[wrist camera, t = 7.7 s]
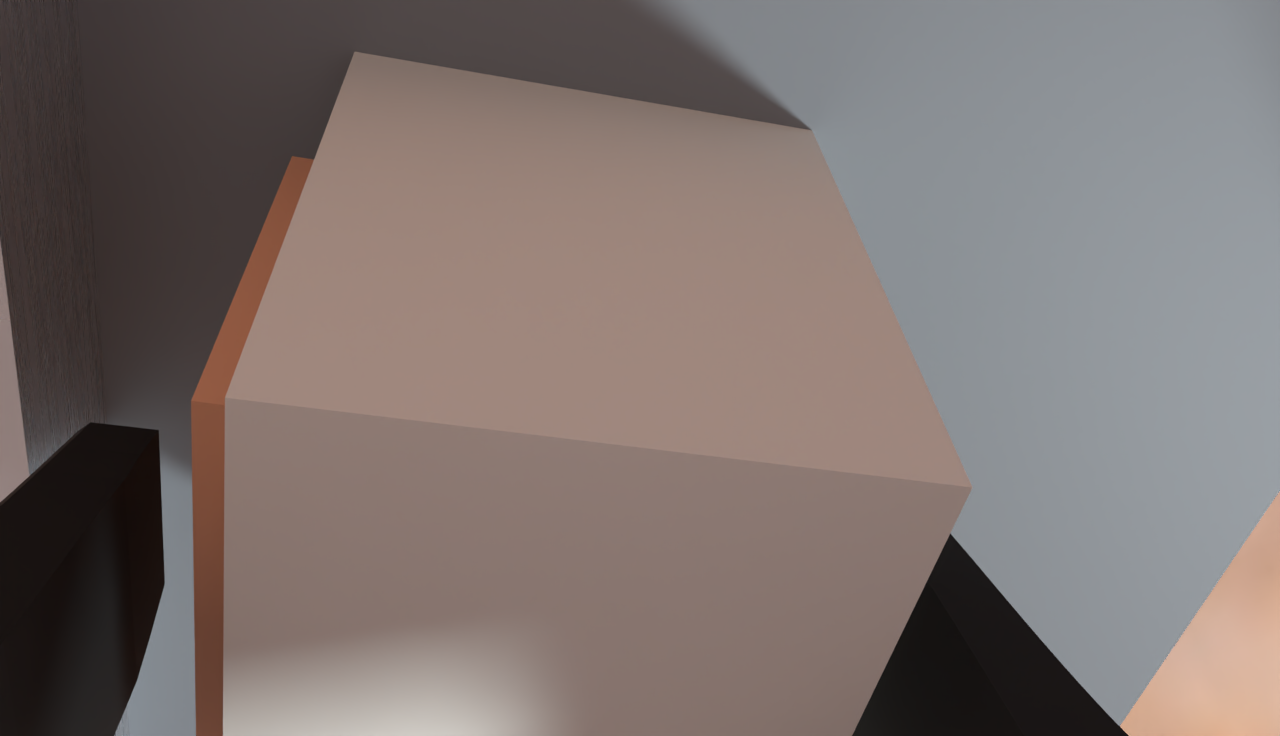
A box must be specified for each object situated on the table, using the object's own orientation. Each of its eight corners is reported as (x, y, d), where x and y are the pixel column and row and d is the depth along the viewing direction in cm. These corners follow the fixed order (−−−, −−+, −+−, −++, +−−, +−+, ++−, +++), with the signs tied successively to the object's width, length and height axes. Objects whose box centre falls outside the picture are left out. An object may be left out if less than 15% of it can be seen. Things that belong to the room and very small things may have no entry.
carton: (812, 130, 13) (972, 487, 8) (673, 574, 17) (725, 996, 12) (315, 45, 12) (158, 389, 7) (290, 535, 16) (178, 973, 11)
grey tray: (1546, -24, 14) (1803, 90, 11) (999, 830, 23) (1061, 1006, 20) (-50, -369, 11) (-258, -336, 8) (79, 771, 20) (4, 967, 17)
